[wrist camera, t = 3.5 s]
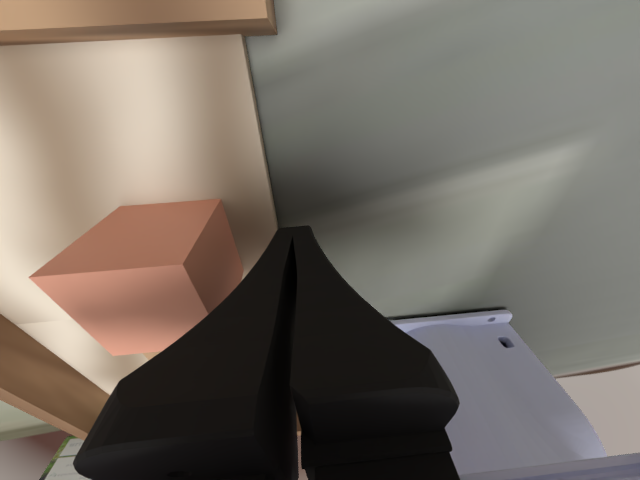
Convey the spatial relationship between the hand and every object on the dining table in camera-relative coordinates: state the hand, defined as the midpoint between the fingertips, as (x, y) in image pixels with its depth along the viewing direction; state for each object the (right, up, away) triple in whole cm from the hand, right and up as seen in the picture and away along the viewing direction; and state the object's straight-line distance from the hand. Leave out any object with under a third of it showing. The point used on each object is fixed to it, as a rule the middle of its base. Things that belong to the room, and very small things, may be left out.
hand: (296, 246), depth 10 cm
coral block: (-5, 0, +1) cm, 5 cm away
